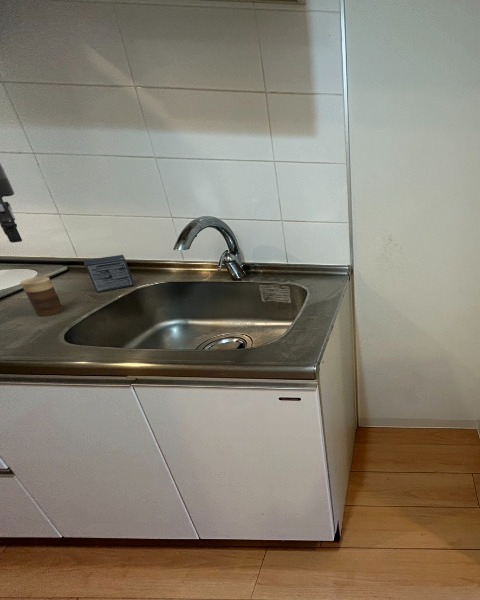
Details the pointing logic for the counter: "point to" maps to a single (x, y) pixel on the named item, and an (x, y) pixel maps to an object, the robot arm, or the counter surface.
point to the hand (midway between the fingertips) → (14, 238)
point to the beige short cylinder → (36, 284)
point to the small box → (109, 273)
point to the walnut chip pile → (45, 302)
